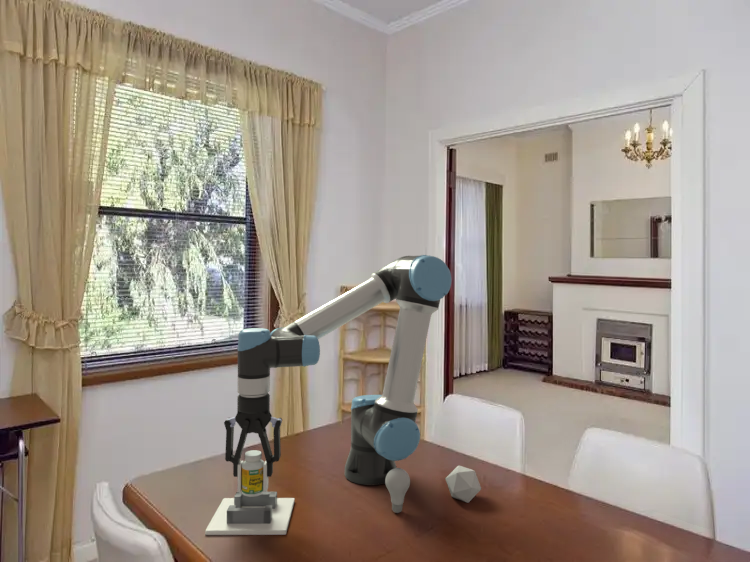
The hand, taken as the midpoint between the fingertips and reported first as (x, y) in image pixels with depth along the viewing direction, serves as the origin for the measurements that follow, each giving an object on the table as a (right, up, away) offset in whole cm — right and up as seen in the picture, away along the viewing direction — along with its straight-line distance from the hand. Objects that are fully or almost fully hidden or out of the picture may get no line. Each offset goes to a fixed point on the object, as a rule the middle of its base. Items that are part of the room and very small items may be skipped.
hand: (253, 489), depth 123 cm
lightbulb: (+35, -7, +3) cm, 36 cm away
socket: (0, -7, 0) cm, 7 cm away
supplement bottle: (0, -1, 0) cm, 1 cm away
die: (+52, -7, +12) cm, 54 cm away
